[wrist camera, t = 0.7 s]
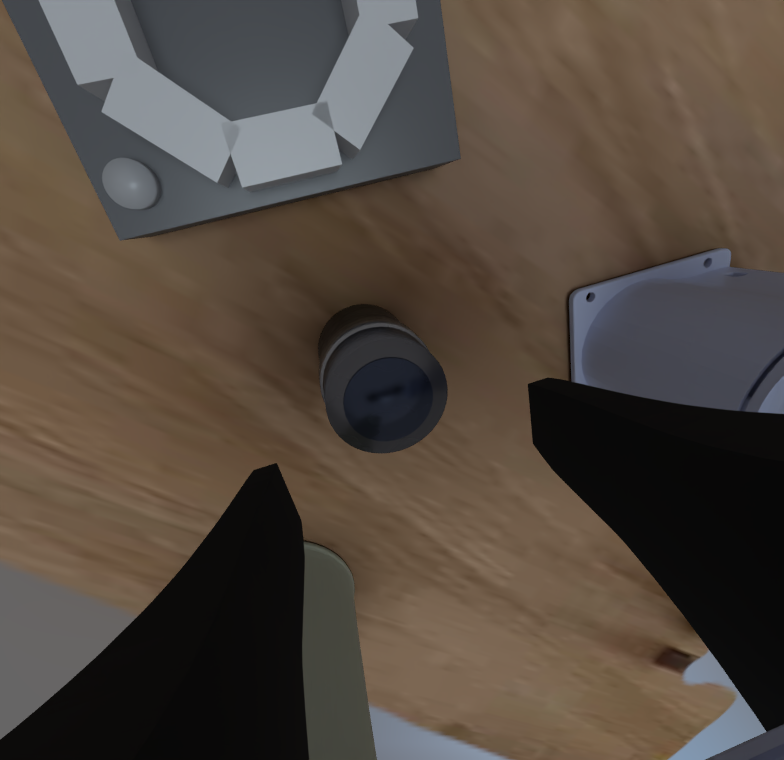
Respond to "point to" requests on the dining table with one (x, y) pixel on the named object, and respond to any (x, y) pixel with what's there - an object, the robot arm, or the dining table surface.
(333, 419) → the lens
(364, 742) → the can
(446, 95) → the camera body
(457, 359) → the dining table surface
